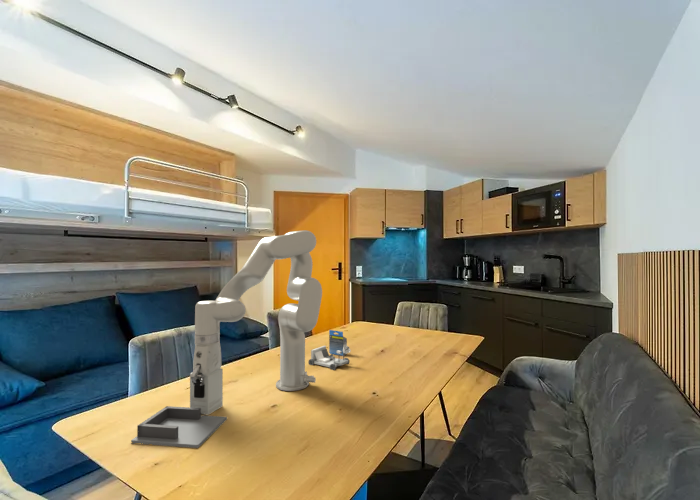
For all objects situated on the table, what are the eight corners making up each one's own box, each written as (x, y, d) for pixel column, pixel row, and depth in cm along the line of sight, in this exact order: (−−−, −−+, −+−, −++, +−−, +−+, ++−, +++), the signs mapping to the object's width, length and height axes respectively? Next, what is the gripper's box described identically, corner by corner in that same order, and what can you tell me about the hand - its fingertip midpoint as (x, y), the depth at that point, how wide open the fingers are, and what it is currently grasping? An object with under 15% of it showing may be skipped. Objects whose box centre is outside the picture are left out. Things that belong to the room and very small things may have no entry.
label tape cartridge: (347, 354, 177) (347, 330, 177) (343, 356, 174) (343, 331, 174) (333, 351, 182) (333, 328, 182) (328, 353, 179) (328, 329, 179)
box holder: (226, 419, 106) (227, 407, 106) (197, 448, 90) (198, 433, 90) (169, 415, 108) (169, 403, 108) (131, 443, 92) (131, 428, 93)
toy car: (354, 344, 161) (340, 350, 151) (354, 365, 160) (339, 372, 151) (323, 339, 170) (308, 344, 161) (323, 359, 170) (308, 365, 161)
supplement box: (223, 406, 116) (223, 368, 116) (207, 415, 109) (208, 375, 109) (205, 403, 118) (205, 365, 118) (188, 412, 111) (189, 372, 111)
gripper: (203, 345, 105) (203, 404, 104) (230, 333, 122) (229, 383, 122) (180, 344, 105) (179, 402, 105) (210, 332, 123) (209, 382, 122)
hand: (206, 391), depth 113 cm, fingers closed on supplement box, 8 cm apart
